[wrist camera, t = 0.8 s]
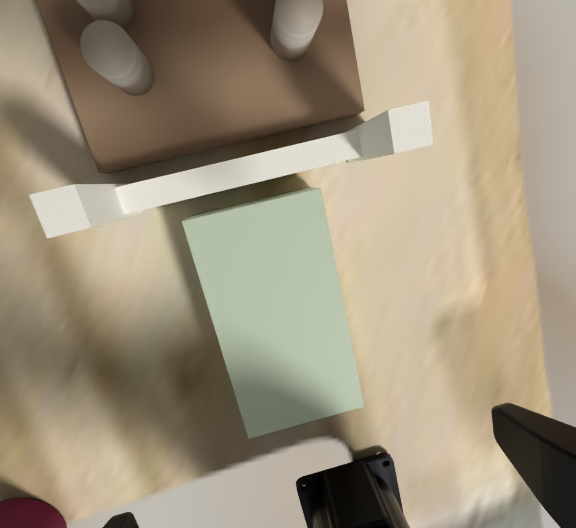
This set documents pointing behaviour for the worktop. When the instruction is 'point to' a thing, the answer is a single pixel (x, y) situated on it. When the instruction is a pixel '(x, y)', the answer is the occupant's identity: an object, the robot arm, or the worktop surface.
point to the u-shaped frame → (231, 172)
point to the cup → (29, 514)
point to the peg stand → (200, 72)
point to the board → (277, 309)
